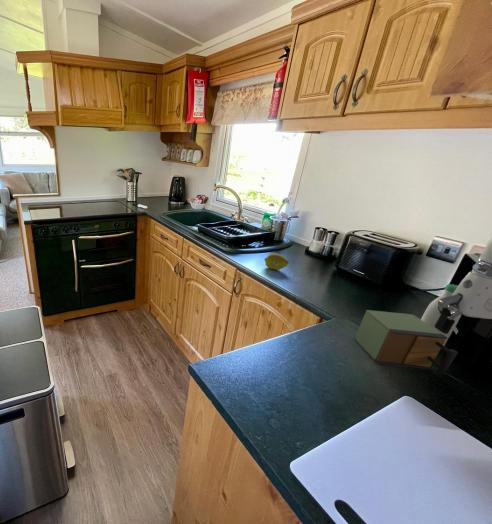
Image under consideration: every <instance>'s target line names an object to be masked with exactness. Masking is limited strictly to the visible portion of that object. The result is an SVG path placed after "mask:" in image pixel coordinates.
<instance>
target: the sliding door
mask: <svg viewBox="0 0 492 524" xmlns="http://www.w3.org/2000/svg"><path fill="white" fill-rule="evenodd" d="M445 340H446V339H441V338H431V337H422V336H417V337H416V339H415V341H414V343H413V345H412V347H411V349H410V351H409V352H408V354H407V356H406V358H405V360H404V362H403V364H406V365H416V366H425V367H429V368H431V367H432V366H433V365H434V366H436V367H437V368H438V369H437V372H438V373H440V374H443V375H444V374H446V372H447V370H448V369H449V367H450V366H451V364H452V363H453V361H454V359H455V358H456V356H457V355H458V351H457V350H455V349H452V348H451V349H449V348H448V347H446V345H444V346H443V344H444V342H445ZM441 350H443V351H444V353H446V356H445V357H444V359H443V360H442V362H441V364H440V363H439V362H438V361H436V358H437V356H438V354H439V353H440V351H441ZM432 364H433V365H432Z"/></svg>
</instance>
